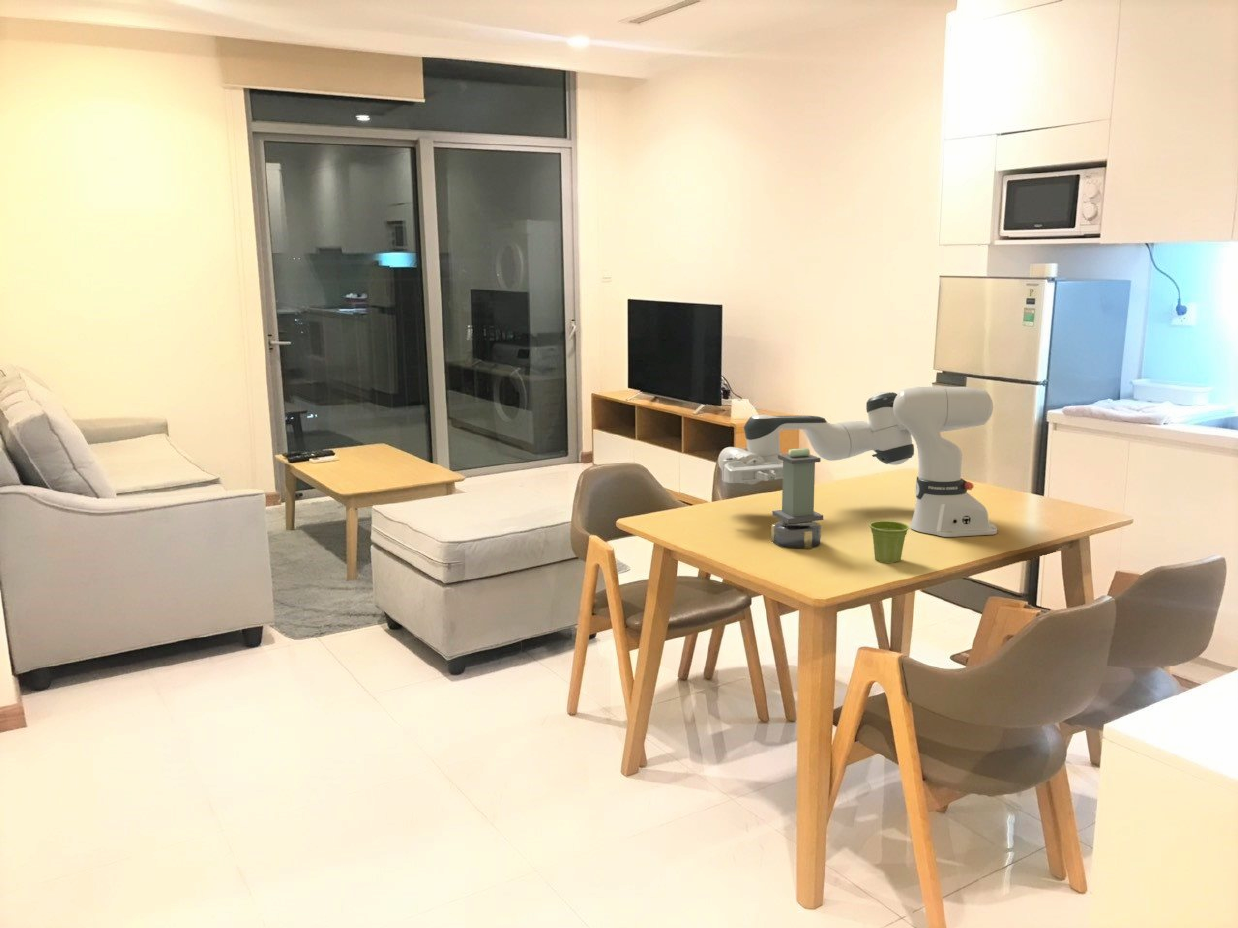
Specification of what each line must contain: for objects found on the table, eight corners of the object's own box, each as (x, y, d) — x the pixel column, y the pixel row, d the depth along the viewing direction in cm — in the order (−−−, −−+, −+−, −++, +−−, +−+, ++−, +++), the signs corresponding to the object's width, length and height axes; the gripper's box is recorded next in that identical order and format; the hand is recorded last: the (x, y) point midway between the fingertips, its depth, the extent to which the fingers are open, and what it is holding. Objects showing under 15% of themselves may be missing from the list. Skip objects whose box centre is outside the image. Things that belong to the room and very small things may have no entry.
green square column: (806, 517, 264) (808, 444, 260) (823, 525, 256) (825, 450, 252) (772, 521, 261) (773, 447, 257) (788, 529, 253) (789, 453, 249)
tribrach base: (806, 535, 267) (806, 517, 266) (830, 547, 255) (830, 528, 254) (766, 539, 263) (766, 521, 262) (788, 551, 251) (788, 533, 251)
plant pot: (907, 555, 246) (909, 521, 245) (908, 566, 237) (909, 531, 236) (868, 553, 249) (870, 519, 247) (867, 564, 240) (868, 529, 238)
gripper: (782, 476, 287) (805, 485, 274) (717, 481, 281) (737, 491, 268) (782, 454, 286) (805, 463, 273) (717, 460, 280) (737, 469, 267)
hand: (771, 477), depth 270 cm, fingers closed
